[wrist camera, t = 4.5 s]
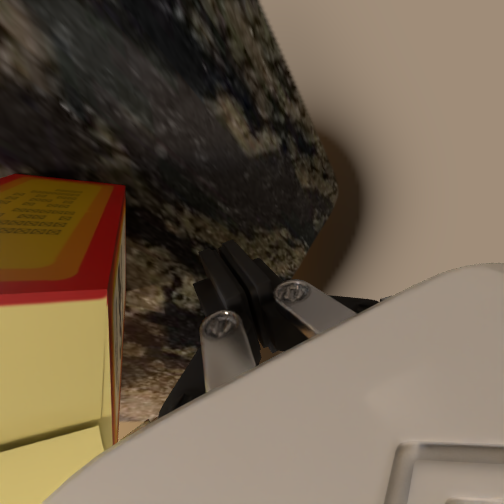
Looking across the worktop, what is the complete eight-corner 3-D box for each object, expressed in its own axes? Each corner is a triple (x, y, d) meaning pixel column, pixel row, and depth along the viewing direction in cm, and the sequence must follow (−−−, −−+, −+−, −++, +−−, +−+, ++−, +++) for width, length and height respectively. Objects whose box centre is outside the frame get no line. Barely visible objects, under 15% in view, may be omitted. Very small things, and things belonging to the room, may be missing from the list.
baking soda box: (15, 173, 17) (-452, 330, 3) (125, 185, 20) (105, 297, 6) (34, 296, 20) (-166, 620, 7) (125, 291, 23) (114, 513, 9)
